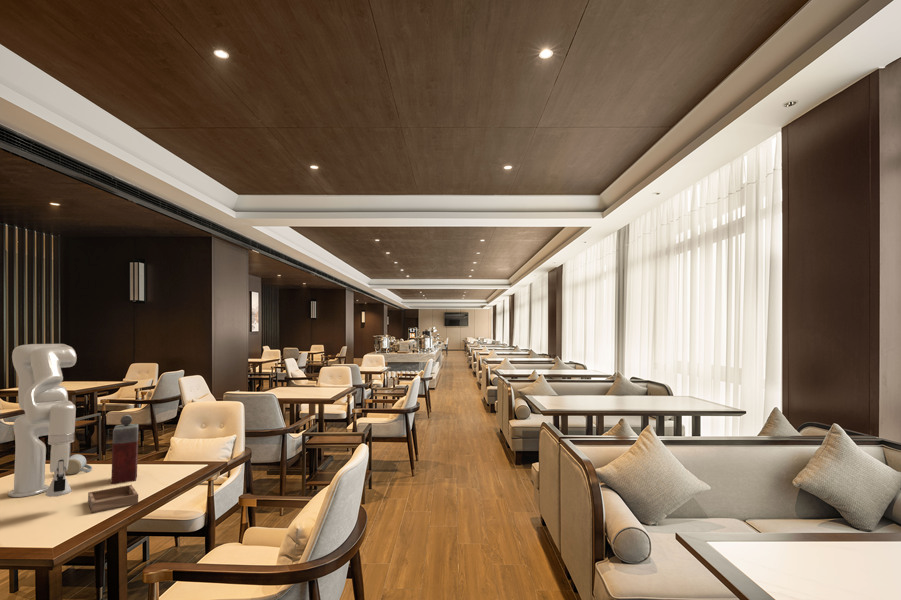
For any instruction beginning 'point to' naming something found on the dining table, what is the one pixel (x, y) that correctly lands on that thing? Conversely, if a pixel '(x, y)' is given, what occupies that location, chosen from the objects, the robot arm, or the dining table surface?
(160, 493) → the dining table surface
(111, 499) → the box
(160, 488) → the dining table surface
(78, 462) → the ceramic mug
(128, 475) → the red decanter
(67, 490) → the flask
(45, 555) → the dining table surface
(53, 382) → the robot arm
